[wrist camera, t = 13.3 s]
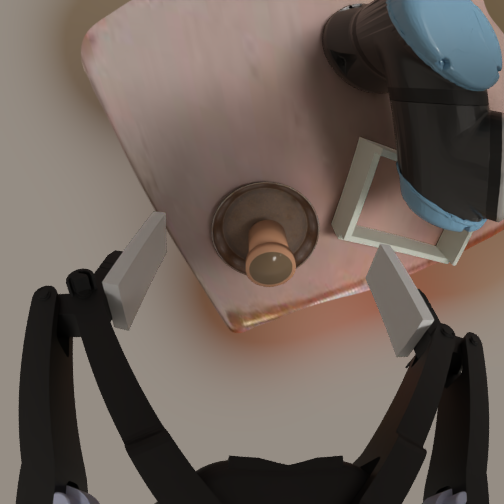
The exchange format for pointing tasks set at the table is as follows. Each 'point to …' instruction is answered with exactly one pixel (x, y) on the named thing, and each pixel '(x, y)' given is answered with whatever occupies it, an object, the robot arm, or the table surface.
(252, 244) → the terracotta pot
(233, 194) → the plant saucer
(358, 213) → the frame
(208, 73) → the table surface
